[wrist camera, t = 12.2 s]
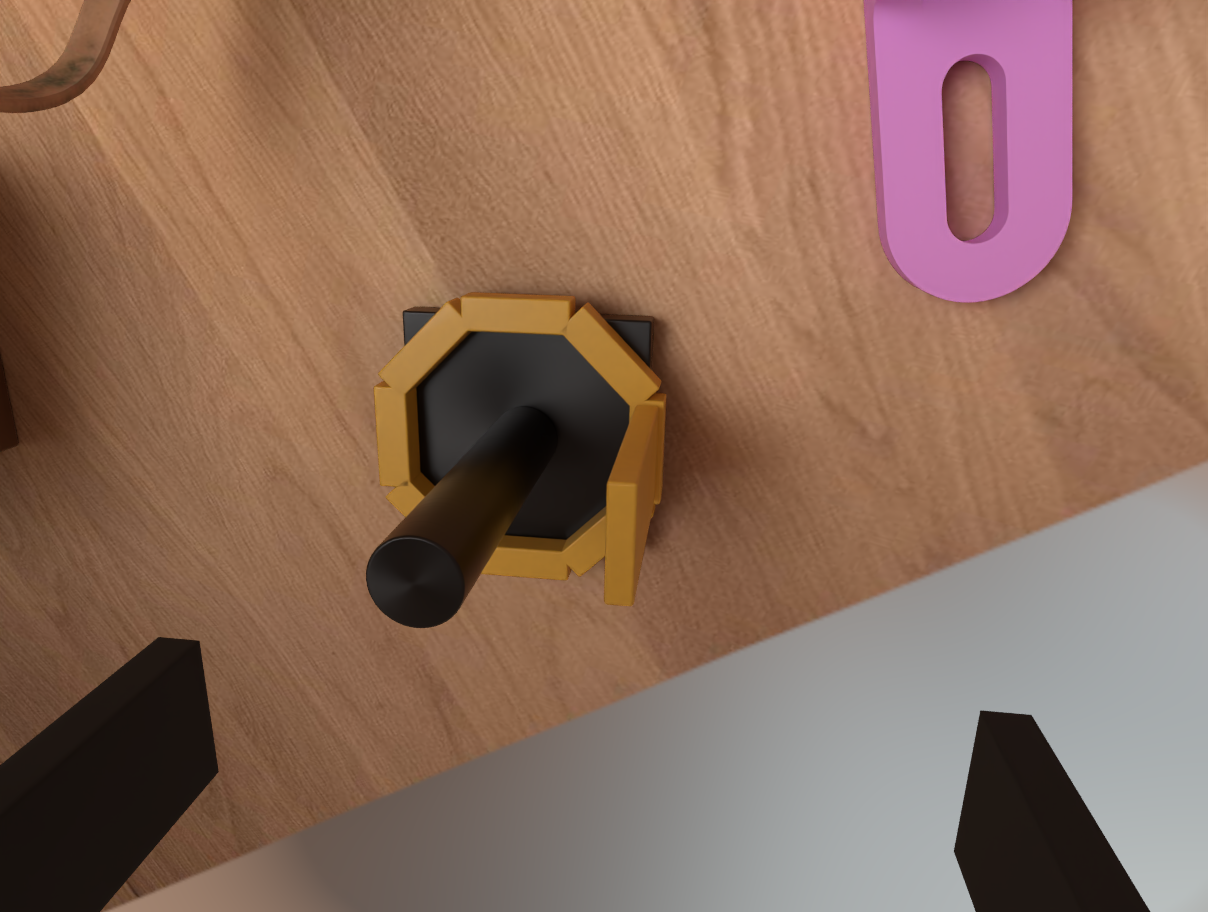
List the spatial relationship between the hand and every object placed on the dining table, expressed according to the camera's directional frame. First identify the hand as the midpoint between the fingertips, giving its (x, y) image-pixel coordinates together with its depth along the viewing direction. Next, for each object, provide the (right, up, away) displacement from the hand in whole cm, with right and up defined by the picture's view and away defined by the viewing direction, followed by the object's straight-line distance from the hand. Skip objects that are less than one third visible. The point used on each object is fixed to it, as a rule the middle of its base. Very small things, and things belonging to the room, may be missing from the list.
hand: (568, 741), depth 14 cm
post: (-2, +6, +18) cm, 19 cm away
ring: (-2, +6, +17) cm, 18 cm away
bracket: (+12, +16, +13) cm, 24 cm away
